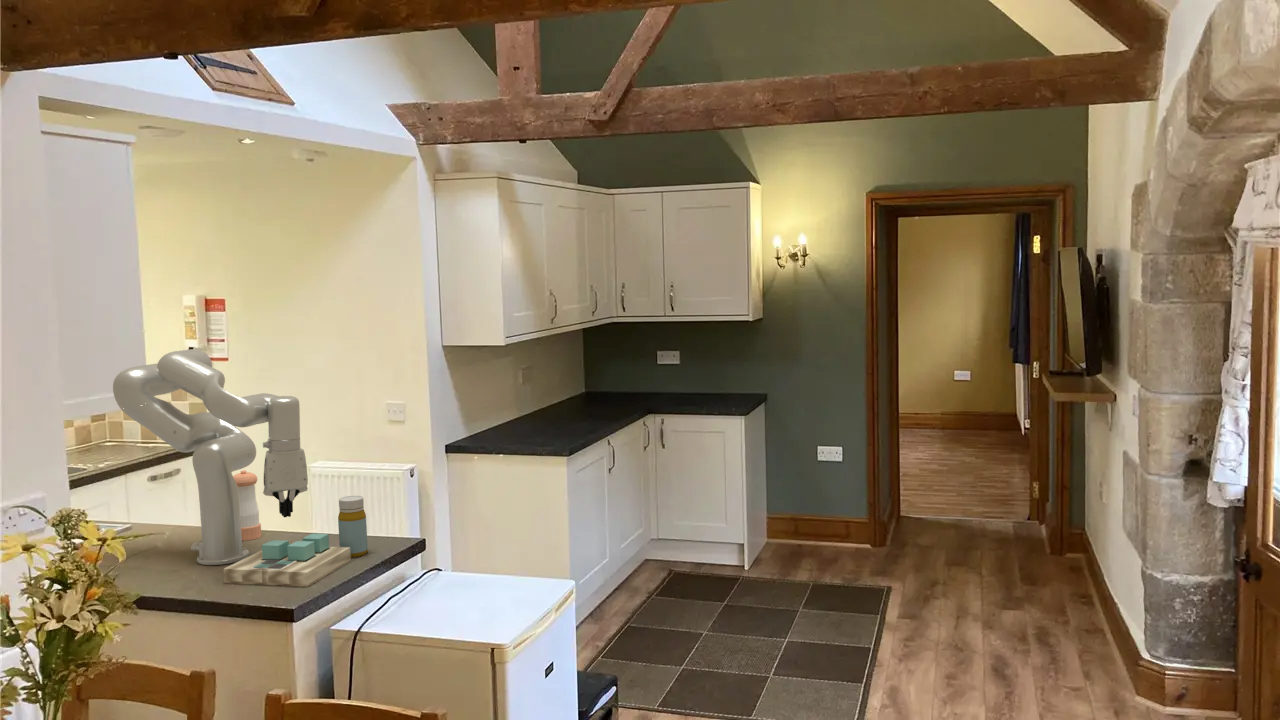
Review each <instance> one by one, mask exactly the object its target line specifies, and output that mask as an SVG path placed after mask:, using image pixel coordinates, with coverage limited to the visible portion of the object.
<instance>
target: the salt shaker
mask: <svg viewBox="0 0 1280 720" xmlns="http://www.w3.org/2000/svg"><path fill="white" fill-rule="evenodd" d="M233 478H234V480H235V481H236V484H237V487H238V492H239V505H240V520H241V536H242V542H244V541H251V540H252V541H253V540H257V539H259V538H261V537H262V525H261V522H260V510H259V507H258V502H257V498H256V495H257V494H256V484H257V482H258V476H257V475H256V474H255V473H253V472H247V470H240V472H239V473H236V474H234V475H233Z"/></svg>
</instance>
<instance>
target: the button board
mask: <svg viewBox="0 0 1280 720" xmlns="http://www.w3.org/2000/svg"><path fill="white" fill-rule="evenodd" d="M351 561H352V558H351V554H350V547H340V546H329V548H327V549H325V550H324V551H322V552H315V555H314V556H313V557H311V558H309V559H307V560H305V561H302V560H288V555H287V556H285V557H283V558H281V559H280V560H277V559H263V558H262V549H261V550H259V551H257V552H255V553H252V554H251V555H249V556H248V557H247V558H245V559H243V560H240V561H237V562H234V563H232V564H230V565H229V566H226V567H224V568H223V582H224V584H239V585H255V584H259V585H262V586H277V585H281V586H280V587H282V586H283V587H303V588H308V587H310V586H312V585H313V584H315V583H317V582H318V581H320V580H322V579H324V577H326V576H328V575H329V574H331V573H334V572H335V571H336V570H338V569H340V568H341V567H343V566H344V565H347V564H348V563H350V562H351ZM259 585H258V586H259Z"/></svg>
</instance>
